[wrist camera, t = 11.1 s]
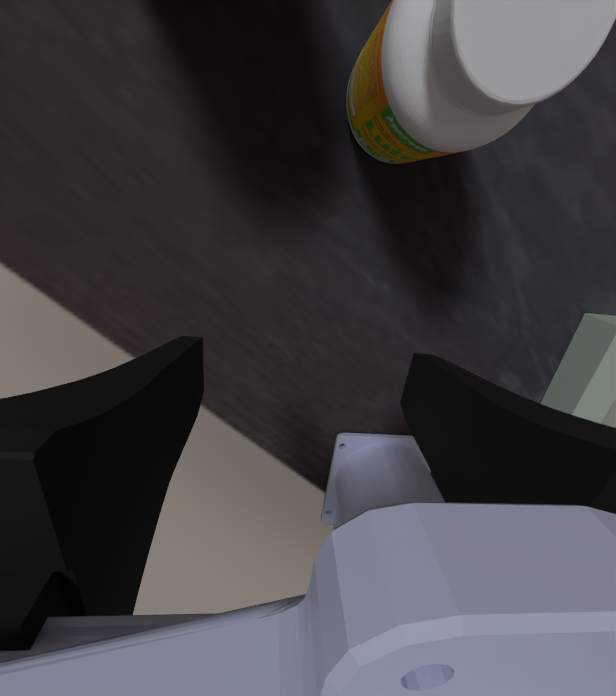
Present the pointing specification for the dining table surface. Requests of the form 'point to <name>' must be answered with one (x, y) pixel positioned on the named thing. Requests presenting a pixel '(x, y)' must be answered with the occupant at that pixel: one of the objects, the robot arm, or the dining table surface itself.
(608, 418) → the plug
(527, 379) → the dining table surface
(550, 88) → the supplement bottle
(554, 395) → the socket board
